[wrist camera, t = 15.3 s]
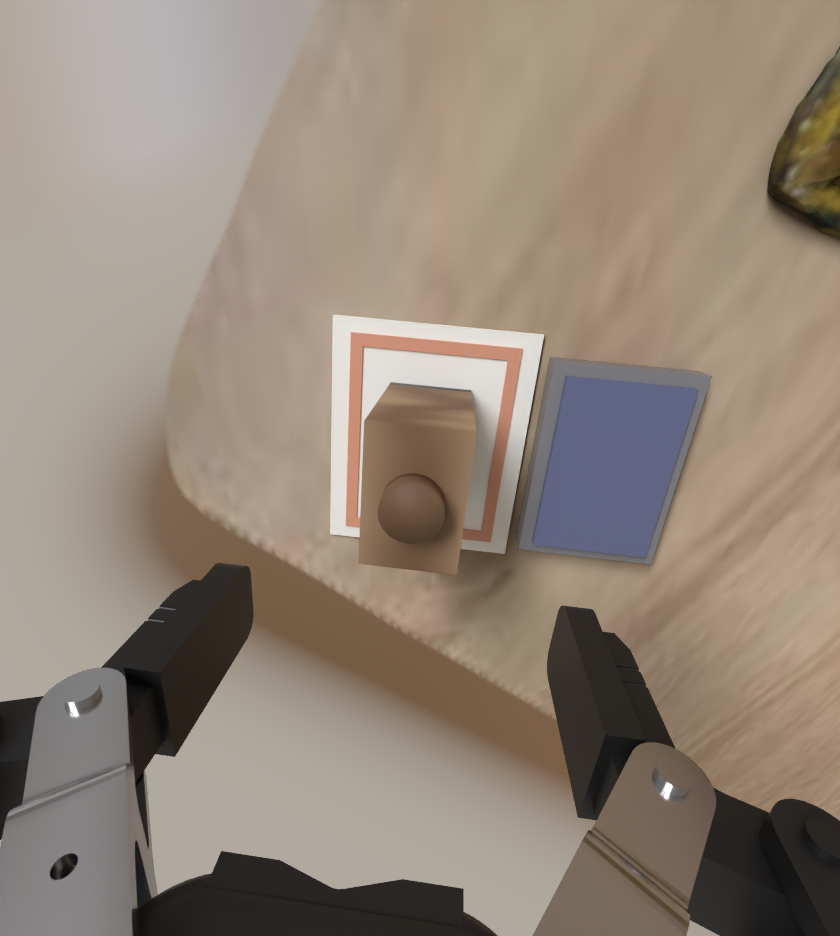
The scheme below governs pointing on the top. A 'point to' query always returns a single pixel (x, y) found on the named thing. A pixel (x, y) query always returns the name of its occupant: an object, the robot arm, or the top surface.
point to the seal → (812, 154)
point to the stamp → (416, 477)
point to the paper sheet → (440, 365)
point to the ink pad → (607, 458)
